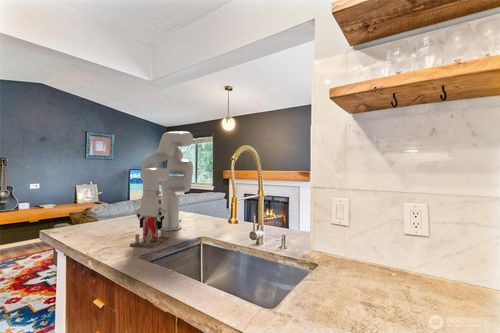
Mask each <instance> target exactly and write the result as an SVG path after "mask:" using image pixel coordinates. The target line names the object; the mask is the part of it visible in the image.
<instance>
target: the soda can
mask: <svg viewBox="0 0 500 333" xmlns="http://www.w3.org/2000/svg"><path fill="white" fill-rule="evenodd" d="M157 221H158V220H157V218H156V217H146V216H145V217H144V219H143V228H142V238H143V240H145V241H146V239H147V236H148V235H150V241H155V240H156V239H157V238H158V236H159V230H157Z"/></svg>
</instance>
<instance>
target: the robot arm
mask: <svg viewBox="0 0 500 333" xmlns="http://www.w3.org/2000/svg"><path fill="white" fill-rule="evenodd" d="M193 142H194V136H193V134H192V133H191V132H189V131H168V132H165V133H163V134H162V136H161V138H160V141H159V145H158V147H157V150H156V151H154V152H153V153H152V154H151V155H149V156H148V157H147V158H146V159H145V160H144V161H143V163H142V165H141V169H140V172H139V177H140V179H141V180H142V195H141V200H140V207H139V208H137V209H135V214H136V217H137V218H138V220H139V228H140V229H143V219H144V217H145V216H146V217H156V218H157V220H158V221H157V230H158V231H159V230H160V231H161V230H162V229H165V232H172V231H178V230H180V229H182V225H181V224H180V223H181V222H182V219H181V218H180V197H179V196H178V194H177V193H188V192H189V191H190V190H191V187H192V181H193V174H194V165H193V162H192V161H191V160H189V159H183V158H184V157H183V156H184V154H183V151H182V150H181V149H180V148H181V147H184V148H185V147H189V146H192V144H193ZM166 161H167V164H166V168H165V167H154V166H156V165H157V164H160V163H164V162H166ZM160 187H161V191H160ZM161 194H162V196H161Z"/></svg>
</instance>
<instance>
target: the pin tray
mask: <svg viewBox="0 0 500 333" xmlns="http://www.w3.org/2000/svg"><path fill="white" fill-rule="evenodd" d="M160 232H161V233H160V234H161V235H160V236H159V235H158V238H157V239H156V240H155V241H150V235H148V236H147V239H146V241H145V240H143V237H142V238H140V234H138V233H137V234H135V236H134V237H135V238H134V239H135V240H134V241H133V242H130V243H129V246H130V247H134V248H135V247H137V248H143V249H145V248H146V249H154V248H157V247H158V246H160V245H162V244H164V243H166V242H168V241H169V240H170V237H168V236H166V235H165V234H166V231H165V229H162V230H160Z"/></svg>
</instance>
